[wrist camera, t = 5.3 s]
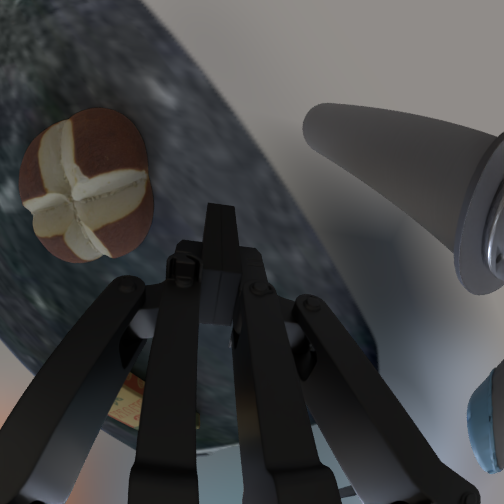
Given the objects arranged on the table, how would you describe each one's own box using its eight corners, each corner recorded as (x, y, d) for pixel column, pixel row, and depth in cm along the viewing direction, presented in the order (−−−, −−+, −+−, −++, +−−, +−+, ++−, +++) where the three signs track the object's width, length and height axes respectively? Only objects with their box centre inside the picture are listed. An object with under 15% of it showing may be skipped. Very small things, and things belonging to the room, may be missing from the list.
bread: (150, 98, 17) (132, 96, 12) (163, 244, 22) (154, 279, 18) (26, 128, 15) (-11, 138, 11) (51, 252, 21) (26, 284, 16)
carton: (109, 345, 28) (101, 374, 24) (200, 404, 35) (202, 430, 32) (75, 367, 29) (67, 393, 25) (161, 419, 37) (160, 442, 33)
